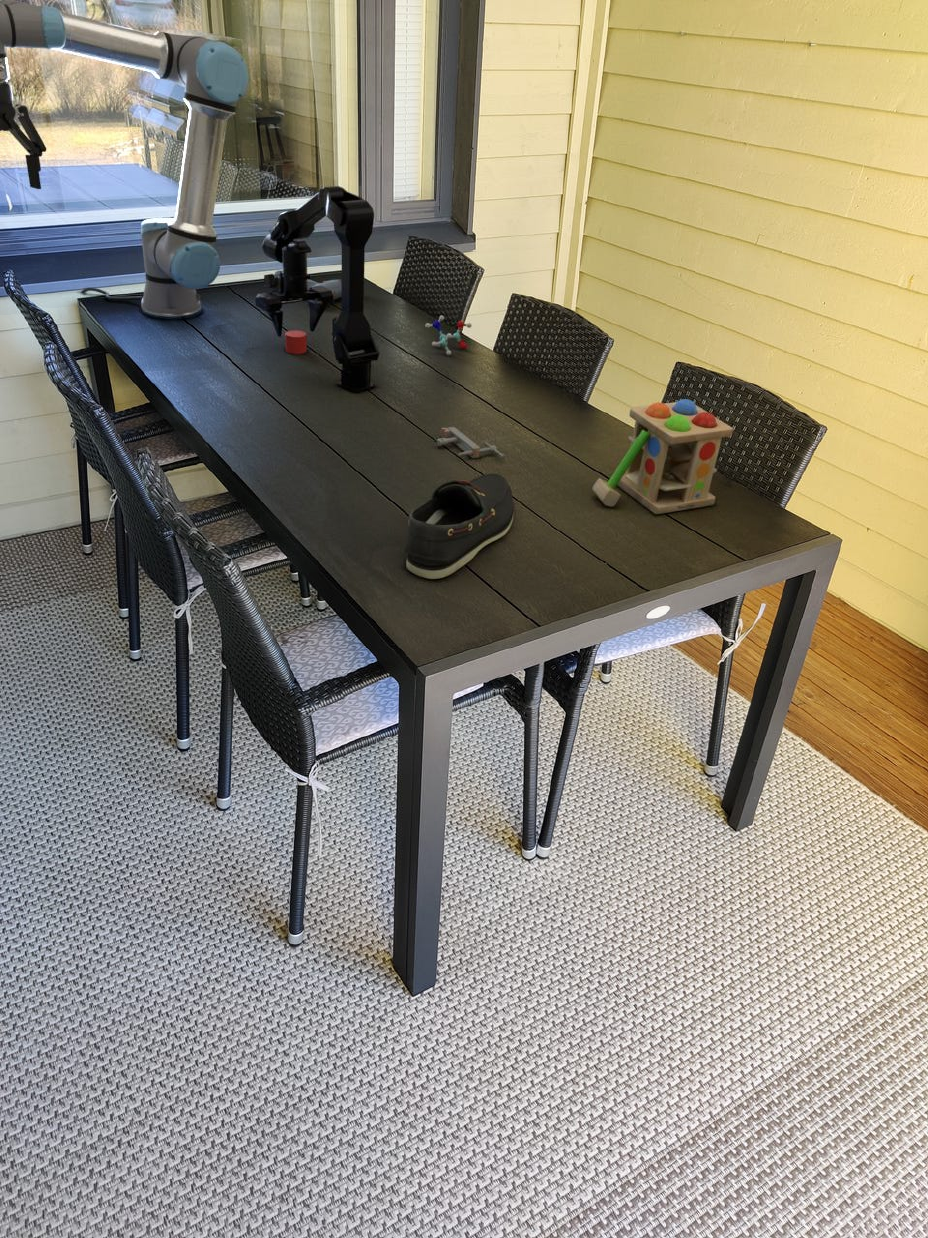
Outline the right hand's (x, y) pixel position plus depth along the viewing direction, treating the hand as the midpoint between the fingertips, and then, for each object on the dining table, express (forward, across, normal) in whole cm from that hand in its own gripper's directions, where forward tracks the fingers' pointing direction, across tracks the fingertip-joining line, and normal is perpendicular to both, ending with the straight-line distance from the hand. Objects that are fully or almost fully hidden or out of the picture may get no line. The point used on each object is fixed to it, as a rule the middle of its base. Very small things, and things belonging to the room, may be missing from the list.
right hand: (295, 333), depth 240 cm
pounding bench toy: (+4, -18, +100) cm, 102 cm away
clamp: (+4, 0, +67) cm, 67 cm away
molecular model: (+4, -35, +16) cm, 38 cm away
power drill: (+4, -28, -38) cm, 48 cm away
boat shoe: (+4, +23, +94) cm, 97 cm away
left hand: (-30, +53, -29) cm, 68 cm away
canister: (+4, 0, 0) cm, 4 cm away
